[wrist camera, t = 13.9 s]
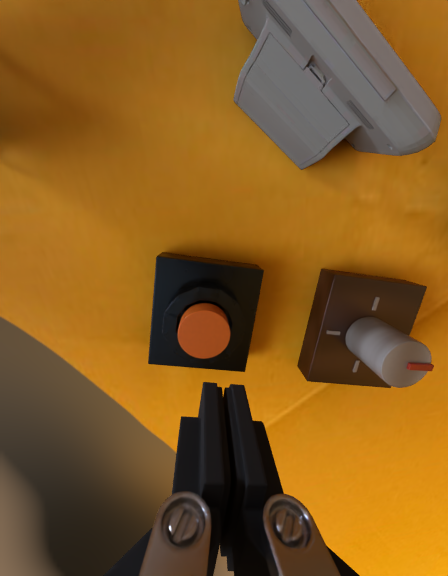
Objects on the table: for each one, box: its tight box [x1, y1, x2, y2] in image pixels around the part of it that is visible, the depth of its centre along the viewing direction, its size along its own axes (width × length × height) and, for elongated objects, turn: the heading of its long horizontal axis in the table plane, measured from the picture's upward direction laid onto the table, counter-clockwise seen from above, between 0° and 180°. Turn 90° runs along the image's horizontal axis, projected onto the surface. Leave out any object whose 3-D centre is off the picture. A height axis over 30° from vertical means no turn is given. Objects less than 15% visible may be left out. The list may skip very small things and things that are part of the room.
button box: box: [148, 252, 264, 372], centre depth 25 cm, size 11×10×5 cm
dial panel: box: [298, 269, 427, 388], centre depth 27 cm, size 12×10×3 cm
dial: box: [345, 317, 434, 388], centre depth 23 cm, size 4×4×6 cm
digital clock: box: [233, 0, 441, 170], centre depth 17 cm, size 16×9×11 cm, turn 39°
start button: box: [178, 303, 230, 359], centre depth 22 cm, size 4×4×2 cm
